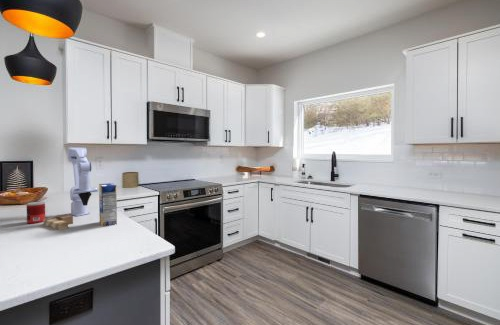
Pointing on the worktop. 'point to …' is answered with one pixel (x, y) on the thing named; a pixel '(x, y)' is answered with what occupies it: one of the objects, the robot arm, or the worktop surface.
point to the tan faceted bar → (55, 223)
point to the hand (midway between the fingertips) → (85, 205)
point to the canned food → (35, 212)
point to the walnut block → (65, 218)
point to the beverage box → (107, 204)
